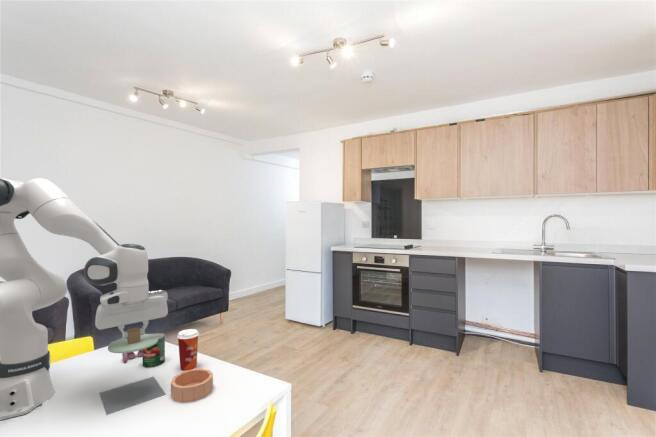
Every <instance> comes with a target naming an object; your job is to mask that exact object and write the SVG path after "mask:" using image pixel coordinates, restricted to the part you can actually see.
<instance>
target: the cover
mask: <svg viewBox="0 0 656 437" xmlns="http://www.w3.org/2000/svg"><path fill="white" fill-rule="evenodd" d="M140 329H141V328H139V327H138V326H137V327H133V328H128V329H126V332H127V331H128V333H129V335H128V336H129V338H126V339H123V337H120V338H118V339H116V340H114V341H112V342H110V343H109V344H107V351H108V352H109V353H113V354H122V353H129V352H134V353H135V352H138V351H139V350H143V349H146V348H149V347H151V346H153V345H155V344H156V343H157V342H158V336H156V335H153V334H154V333H145V334H144V335H140Z"/></svg>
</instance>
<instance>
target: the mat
mask: <svg viewBox="0 0 656 437" xmlns="http://www.w3.org/2000/svg"><path fill="white" fill-rule="evenodd" d="M165 392H166V391H164V389H163V388H162V387H161V386H160V383H159V382H158V381H157V379H156V378H155V377H154V376H150V377H147V378H143V379H141V380H137V381H134V382H131V383H127V384H124V385H121V386H117V387H114V388H111V389H107V390H104V391H101V392H99V396H100V399H101V403H102V405H103V409H104V412H105V415H106V416H108V415H111V414H114V413H117V412H119V411H123V410H125V409H128V408H131V407H134V406H137V405H140V404H142V403H146V402H148V401H152V400H155V399H157V398H160V397H163V396H165V395H167V394H166V393H165Z"/></svg>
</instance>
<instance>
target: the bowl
mask: <svg viewBox="0 0 656 437" xmlns="http://www.w3.org/2000/svg"><path fill="white" fill-rule="evenodd" d="M213 388H214V373H213V372H212V371H211V370H210V369H207V368H194V369H192V370H188V371H183V372H179V373H178V374H177V375H175V376H173V377H172V380H171V381H170V397H171V399H172V400H173V402H176V403H177V402H178V403H182V404H184V403H192V402H193V403H194V402H196V401H199V400H201V399H205V398H206V397H207V396H208V395H210V394H211V393H212V391H213Z"/></svg>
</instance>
